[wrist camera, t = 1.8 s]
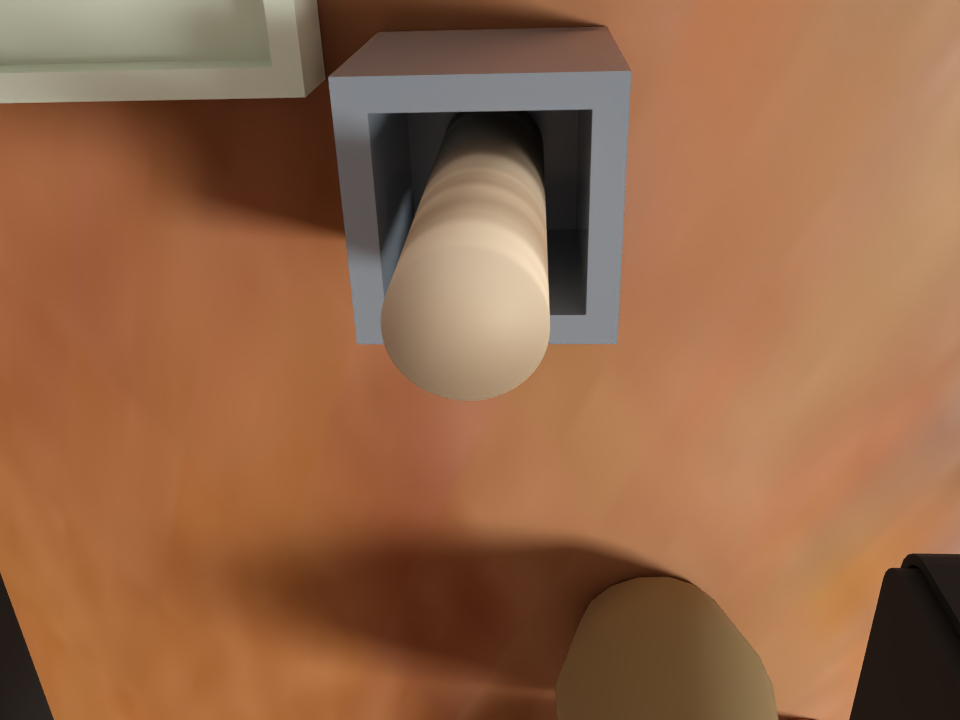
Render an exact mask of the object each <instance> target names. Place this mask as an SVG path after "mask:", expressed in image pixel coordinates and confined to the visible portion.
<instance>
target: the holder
mask: <svg viewBox="0 0 960 720" xmlns="http://www.w3.org/2000/svg"><path fill="white" fill-rule="evenodd" d="M328 81H329V90H330V99H331V109H332V118H333V127H334V136H335V145H336V155H337V164H338V173H339V182H340V191H341V201H342V210H343V219H344V228H345V237H346V247H347V256H348V265H349V274H350V283H351V293H352V302H353V311H354V320H355V329H356V339H357V344H384V342H383V339H382V333H381V319H380V318H381V310H382V305H383V302H384V298H385V296H386V293H387V290H388V287H389V285H390V282H391V279H392V277H393V274H394V271H395V268H396V266H397V263H398V260H399V258H400V255H401V252H402V249H403V247H404V244H405V241H406V239H407V236H408V233H409V230H410V228H411V225H412V222H413V220H414V217H415V214H416V212H417V209H418V206H419V203H420V201H421V198H422V195H423V193H424V190H425V187H426V184H427V182H428V179H429V176H430V174H431V171H432V168H433V165H434V163H435V160H436V157H437V155H438V152H439V149H440V146H441V144H442V141H443V138H444V136H445V133H446V130H447V128H448V126H449V124H450V122H451V121H452V119H453V118H454V117H455V116H456V115H457V114H458V113H459V112H474V111H526V112H527V113H529V115H530V116H531V117H532V118H533V119H534V121H535V122H536V124H537V126H538V128H539V130H540V132H541V135H542V140H543V149H544V175H545V202H546V229H547V256H548V283H549V310H550V336H549V341H548V344H617V339H618V320H619V300H620V281H621V261H622V242H623V222H624V203H625V183H626V163H627V144H628V124H629V105H630V85H631V69H630V68H629V66H628V64H627V62H626V60H625V58H624V57H623V55H622V53H621V51H620V49H619V47H618V46H617V44H616V42H615V40H614V38H613V36H612V35H611V33H610V31H609V29H608V27H607V26H604V27H562V28H520V29H478V30H436V31H394V32H378V33H376V34H375V35H374V36H373V37H372V38H371V39H370V40H369V41H368V42H366V43H365V44H364V45H363V46H362V47H361V48H360V49H359V50H358V51H356V52H355V53H354V54H353V55H352V56H351V57H350V58H349V59H348V60H346V61H345V62H344V63H343V64H342V65H341V66H340V67H339V68H338V69H337V70H335V71H334V72H333V73H332V74H331V75H330V76H329V77H328Z"/></svg>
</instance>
